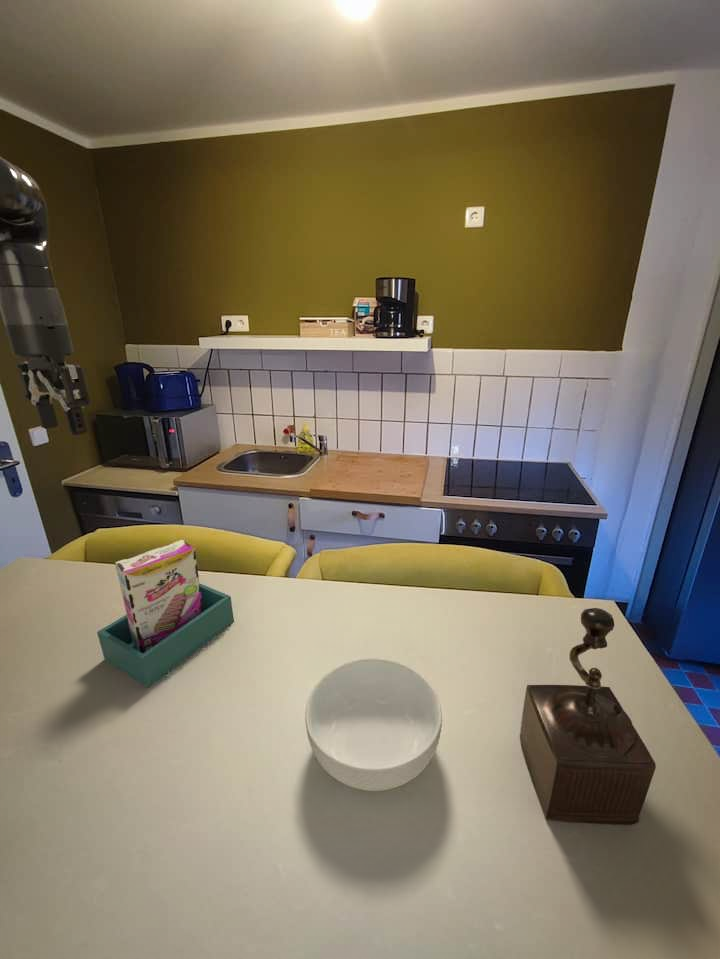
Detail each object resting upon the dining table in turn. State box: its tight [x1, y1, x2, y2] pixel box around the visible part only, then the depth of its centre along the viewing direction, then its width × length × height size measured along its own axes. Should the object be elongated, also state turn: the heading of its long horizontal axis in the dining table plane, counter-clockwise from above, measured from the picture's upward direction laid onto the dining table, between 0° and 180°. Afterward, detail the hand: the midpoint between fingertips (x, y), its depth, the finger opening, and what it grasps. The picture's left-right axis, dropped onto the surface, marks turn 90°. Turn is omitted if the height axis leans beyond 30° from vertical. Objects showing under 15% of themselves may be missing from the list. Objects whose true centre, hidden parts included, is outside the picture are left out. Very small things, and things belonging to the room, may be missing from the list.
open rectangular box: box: [96, 583, 235, 688], centre depth 74 cm, size 12×18×6 cm, turn 150°
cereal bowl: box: [304, 657, 443, 792], centre depth 55 cm, size 17×17×7 cm
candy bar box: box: [114, 539, 204, 653], centre depth 72 cm, size 11×5×16 cm, turn 135°
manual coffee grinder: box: [519, 607, 657, 826], centre depth 51 cm, size 16×11×18 cm
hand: (64, 430), depth 68 cm, fingers open, 8 cm apart
